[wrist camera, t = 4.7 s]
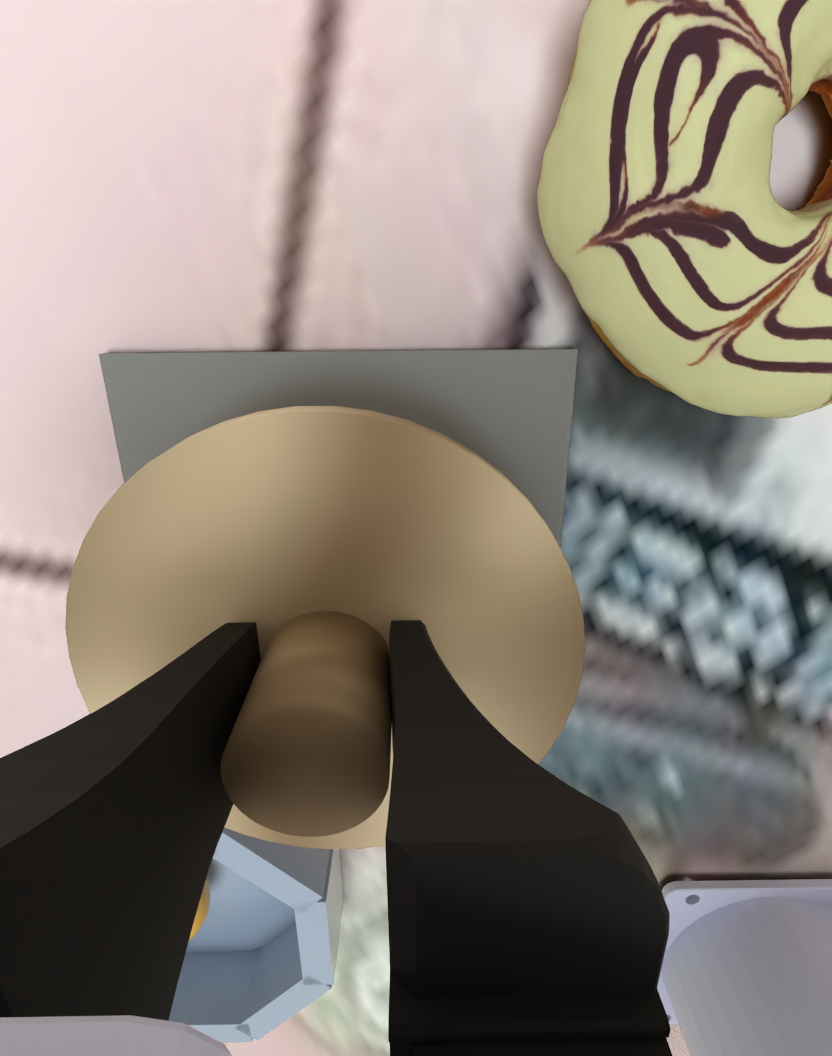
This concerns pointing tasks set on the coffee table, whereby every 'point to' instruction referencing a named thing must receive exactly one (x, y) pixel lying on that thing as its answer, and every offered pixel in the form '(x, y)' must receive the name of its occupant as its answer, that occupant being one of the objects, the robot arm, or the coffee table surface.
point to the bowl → (260, 938)
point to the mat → (362, 401)
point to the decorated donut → (696, 199)
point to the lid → (328, 601)
